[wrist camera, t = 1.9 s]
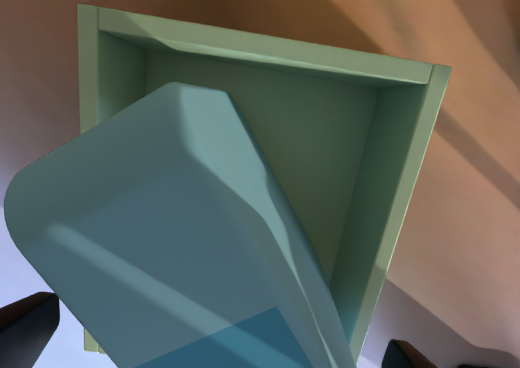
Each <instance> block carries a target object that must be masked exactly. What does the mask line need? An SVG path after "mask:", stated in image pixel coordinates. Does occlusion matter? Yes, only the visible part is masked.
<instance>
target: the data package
mask: <svg viewBox="0 0 520 368" xmlns="http://www.w3.org/2000/svg"><path fill="white" fill-rule="evenodd" d="M4 216H5V221H6V225H7V228H8V231H9V233H10V236H11V238H12V240H13V241H14V243H15V245H16V247H17V248H18V249H19V251H20V252H21V253H22V255H23V256H24V257H25V258H26V259H27V261H28V262H29V263H30V264H31V265H32V266H33V268H34V269H35V270H36V271H37V272H38V274H39V275H40V276H41V277H42V278H43V279H44V281H45V282H46V283H47V284H48V285H49V287H50V288H51V289H52V290H53V291H54V292H55V294H56V295H57V296H58V297H59V298H60V300H61V301H62V302H63V303H64V304H65V305H66V307H67V308H68V309H69V310H70V311H71V313H72V314H73V315H74V316H75V317H76V318H77V320H78V321H79V322H80V323H81V324H82V325H83V327H84V328H85V329H86V330H87V331H88V333H89V334H90V335H91V336H92V337H93V338H94V340H95V341H96V342H97V343H98V344H99V346H100V347H101V348H102V349H103V350H104V351H105V353H106V354H107V355H108V356H109V357H110V359H111V360H112V361H113V362H114V363H115V364H116V366H117V367H118V368H356V365H355V362H354V359H353V356H352V353H351V350H350V347H349V344H348V342H347V339H346V336H345V333H344V330H343V327H342V324H341V321H340V318H339V315H338V312H337V310H336V307H335V304H334V301H333V298H332V295H331V292H330V289H329V286H328V283H327V281H326V278H325V275H324V272H323V269H322V266H321V264H320V261H319V259H318V257H317V254H316V252H315V250H314V248H313V246H312V244H311V242H310V240H309V238H308V236H307V234H306V232H305V230H304V229H303V227H302V225H301V223H300V221H299V219H298V217H297V215H296V213H295V212H294V210H293V208H292V206H291V204H290V202H289V200H288V198H287V196H286V195H285V193H284V191H283V189H282V187H281V185H280V183H279V181H278V179H277V178H276V176H275V174H274V172H273V170H272V168H271V166H270V164H269V163H268V161H267V159H266V157H265V155H264V153H263V151H262V149H261V147H260V146H259V144H258V142H257V140H256V138H255V136H254V134H253V132H252V130H251V129H250V127H249V125H248V123H247V121H246V119H245V117H244V115H243V114H242V112H241V110H240V108H239V106H238V105H237V103H236V102H235V100H234V98H233V97H232V96H231V94H230V93H229V92H227V91H224V90H218V89H213V88H207V87H201V86H195V85H190V84H184V83H178V82H171V83H167V84H166V85H164V86H162V87H160V88H159V89H157V90H155V91H154V92H152V93H150V94H149V95H147V96H145V97H144V98H142V99H140V100H138V101H137V102H135V103H133V104H132V105H130V106H128V107H127V108H125V109H123V110H121V111H120V112H118V113H116V114H115V115H113V116H111V117H110V118H108V119H106V120H104V121H103V122H101V123H99V124H98V125H96V126H94V127H93V128H91V129H89V130H87V131H86V132H84V133H82V134H81V135H79V136H77V137H76V138H74V139H72V140H70V141H69V142H67V143H65V144H64V145H62V146H60V147H59V148H57V149H55V150H54V151H52V152H50V153H48V154H47V155H45V156H43V157H42V158H40V159H38V160H37V161H35V162H33V163H31V164H30V165H28V166H26V167H25V168H23V169H22V170H20V171H19V172H18V173H17V174H16V175H15V176H14V178H13V179H12V181H11V182H10V184H9V186H8V188H7V191H6V194H5V199H4Z"/></svg>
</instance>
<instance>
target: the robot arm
mask: <svg viewBox="0 0 520 368" xmlns="http://www.w3.org/2000/svg"><path fill="white" fill-rule="evenodd" d="M59 321H60V309H59V297H58V296H57V295H56V294H55V293H51V292H38V293H35V294H33V295H30V296H28V297H26V298H23V299H21V300H19V301H16V302H14V303H11V304H9V305H7V306H4V307H2V308H0V368H32V367H33V365H34V364H35V362H36V361H37V359H38V357H39V356H40V354H41V353H42V351H43V350H44V348H45V346H46V345H47V343H48V342H49V340H50V338H51V337H52V335H53V334H54V332H55V331H56V329H57V327H58V325H59ZM382 368H438V367H437V366H436V365H434V364H433V363H432V362H431V361H430V360H428V359H427V358H426V357H425V356H424V355H423V354H421V353H420V352H419V351H418V350H417V349H415V348H414V347H413V346H412V345H411V344H410V343H408V342H407V341H404V340H396V339H392V340H390V341H389V343H388V346H387V349H386V352H385V355H384V358H383V361H382ZM458 368H486V367H478V366H471V365H461V366H459V367H458Z"/></svg>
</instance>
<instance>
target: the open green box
mask: <svg viewBox="0 0 520 368" xmlns="http://www.w3.org/2000/svg"><path fill="white" fill-rule="evenodd" d="M77 24H78V72H79V120H80V135H81V134H82V133H84V132H86V131H87V130H89V129H91V128H93V127H94V126H96V125H98V124H99V123H101V122H103V121H104V120H106V119H108V118H110V117H111V116H113V115H115V114H116V113H118V112H120V111H121V110H123V109H125V108H127V107H128V106H130V105H132V104H133V103H135V102H137V101H138V100H140V99H142V98H144V97H145V96H147V95H149V94H150V93H152V92H154V91H155V90H157V89H159V88H160V87H162V86H164V85H166V84H167V83H171V82H178V83H184V84H190V85H195V86H201V87H207V88H213V89H218V90H224V91H227V92H229V93H230V94H231V96H232V97H233V98H234V100H235V102H236V103H237V105H238V106H239V108H240V110H241V112H242V114H243V115H244V117H245V119H246V121H247V123H248V125H249V127H250V129H251V130H252V132H253V134H254V136H255V138H256V140H257V142H258V144H259V146H260V147H261V149H262V151H263V153H264V155H265V157H266V159H267V161H268V163H269V164H270V166H271V168H272V170H273V172H274V174H275V176H276V178H277V179H278V181H279V183H280V185H281V187H282V189H283V191H284V193H285V195H286V196H287V198H288V200H289V202H290V204H291V206H292V208H293V210H294V212H295V213H296V215H297V217H298V219H299V221H300V223H301V225H302V227H303V229H304V230H305V232H306V234H307V236H308V238H309V240H310V242H311V244H312V246H313V248H314V250H315V252H316V254H317V257H318V259H319V261H320V264H321V266H322V269H323V272H324V275H325V278H326V281H327V283H328V286H329V289H330V292H331V295H332V298H333V301H334V304H335V307H336V310H337V312H338V315H339V318H340V321H341V324H342V327H343V330H344V333H345V336H346V339H347V342H348V344H349V347H350V350H351V353H352V356H353V359H354V362H355V365H356V367H357V364H358V361H359V357H360V354H361V351H362V348H363V345H364V342H365V339H366V336H367V333H368V329H369V326H370V323H371V320H372V317H373V314H374V311H375V308H376V305H377V301H378V298H379V295H380V292H381V289H382V286H383V283H384V280H385V277H386V273H387V270H388V267H389V264H390V261H391V258H392V255H393V252H394V249H395V245H396V242H397V239H398V236H399V233H400V230H401V227H402V224H403V221H404V217H405V214H406V211H407V208H408V205H409V202H410V199H411V196H412V193H413V189H414V186H415V183H416V180H417V177H418V174H419V171H420V168H421V165H422V161H423V158H424V155H425V152H426V149H427V146H428V143H429V140H430V137H431V133H432V130H433V127H434V124H435V121H436V118H437V115H438V112H439V109H440V105H441V102H442V99H443V96H444V93H445V90H446V87H447V84H448V81H449V77H450V74H451V71H452V67H451V66H445V65H440V64H432V63H428V62H422V61H416V60H411V59H405V58H399V57H393V56H387V55H381V54H375V53H369V52H364V51H358V50H352V49H346V48H340V47H334V46H328V45H322V44H316V43H311V42H305V41H299V40H293V39H287V38H281V37H275V36H269V35H264V34H258V33H252V32H246V31H240V30H234V29H228V28H222V27H216V26H211V25H205V24H199V23H193V22H187V21H181V20H175V19H169V18H164V17H158V16H152V15H146V14H140V13H134V12H128V11H122V10H117V9H111V8H105V7H97V6H93V5H87V4H81V3H79V4H77ZM84 350H85V351H89V352H99V353H102V354H106V353H105V351H104V350H103V349H102V348H101V347H100V346H99V344H98V343H97V342H96V341H95V340H94V338H93V337H92V336H91V335H90V334H89V333H88V331H87V330H86V329H85V328H84Z"/></svg>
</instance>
